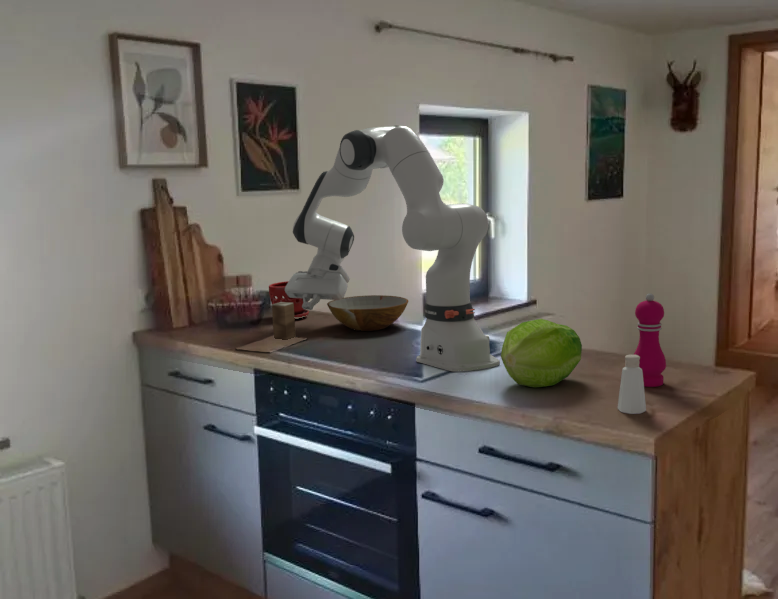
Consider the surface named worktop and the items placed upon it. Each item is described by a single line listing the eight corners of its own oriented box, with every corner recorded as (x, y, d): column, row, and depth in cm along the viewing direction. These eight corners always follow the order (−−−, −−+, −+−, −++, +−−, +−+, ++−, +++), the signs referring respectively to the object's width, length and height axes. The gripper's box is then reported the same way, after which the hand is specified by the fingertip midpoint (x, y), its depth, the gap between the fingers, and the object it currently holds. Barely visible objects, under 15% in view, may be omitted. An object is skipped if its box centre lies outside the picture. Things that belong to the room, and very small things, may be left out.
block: (295, 337, 237) (293, 302, 235) (286, 340, 233) (284, 305, 231) (283, 336, 239) (280, 301, 238) (273, 339, 235) (271, 304, 234)
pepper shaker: (611, 408, 161) (612, 354, 160) (632, 404, 164) (633, 351, 162) (630, 415, 156) (631, 360, 155) (652, 411, 159) (653, 356, 157)
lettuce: (545, 397, 167) (485, 394, 178) (602, 374, 182) (544, 373, 194) (536, 328, 166) (477, 329, 177) (595, 310, 181) (536, 313, 193)
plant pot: (299, 313, 279) (297, 278, 277) (317, 318, 268) (315, 282, 266) (264, 318, 273) (262, 282, 271) (280, 323, 262) (278, 287, 260)
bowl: (315, 334, 243) (313, 308, 242) (345, 318, 267) (344, 294, 265) (395, 337, 235) (394, 310, 234) (419, 320, 259) (418, 295, 257)
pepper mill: (627, 379, 182) (628, 291, 179) (660, 378, 182) (661, 290, 178) (636, 388, 175) (637, 296, 171) (670, 387, 175) (672, 295, 171)
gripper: (290, 265, 255) (274, 300, 248) (346, 266, 245) (330, 304, 238) (299, 277, 259) (283, 312, 253) (354, 279, 250) (339, 316, 243)
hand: (306, 308), depth 245 cm, fingers closed
